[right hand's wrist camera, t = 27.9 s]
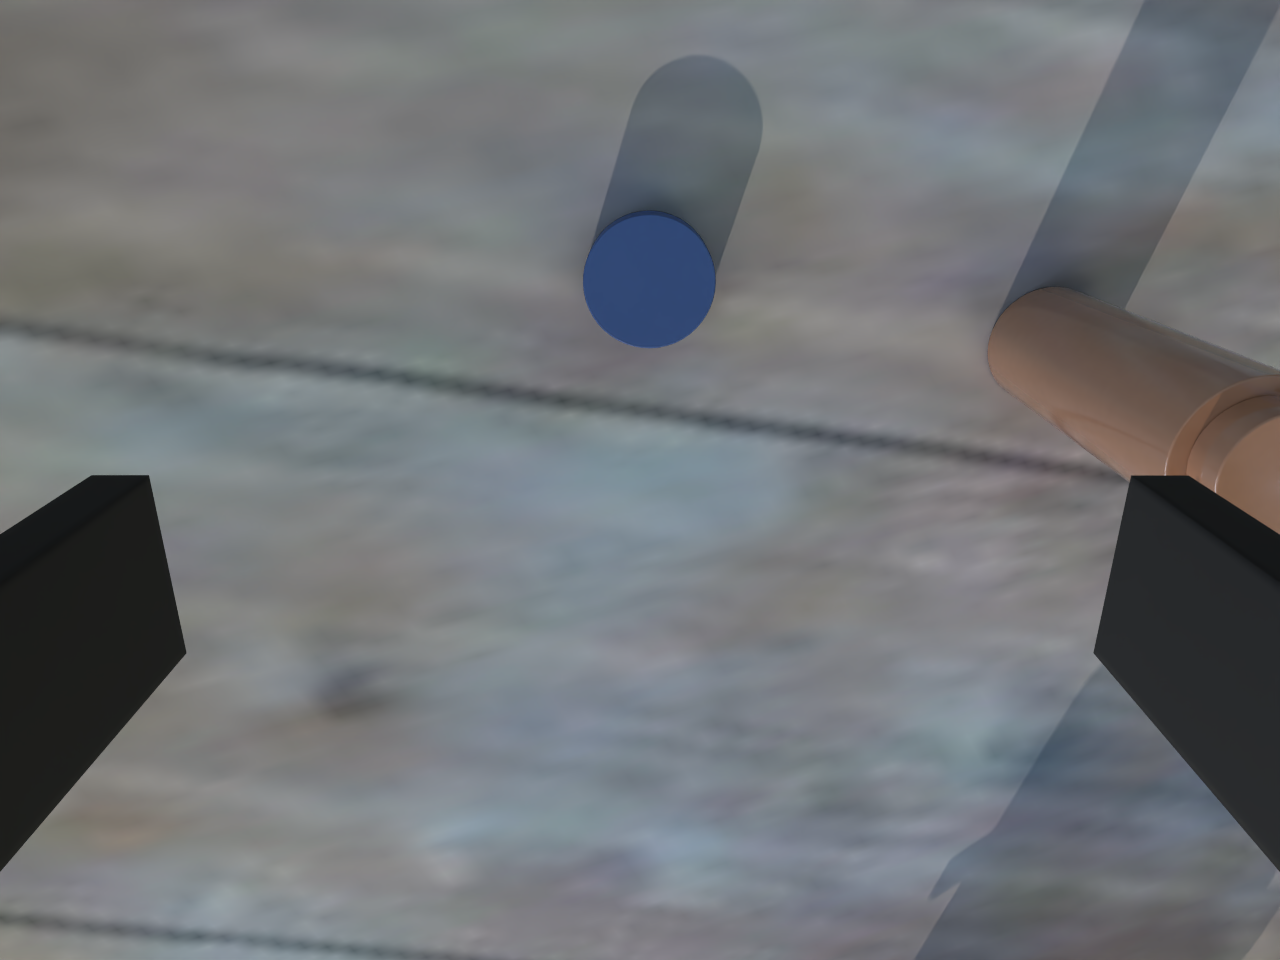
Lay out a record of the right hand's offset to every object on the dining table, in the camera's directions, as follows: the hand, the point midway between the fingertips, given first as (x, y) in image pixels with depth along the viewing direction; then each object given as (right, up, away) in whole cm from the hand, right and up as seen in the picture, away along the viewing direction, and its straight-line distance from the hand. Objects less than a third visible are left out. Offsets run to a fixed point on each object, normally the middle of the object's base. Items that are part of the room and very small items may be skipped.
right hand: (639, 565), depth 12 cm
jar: (+17, +7, +25) cm, 31 cm away
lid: (0, +9, +23) cm, 25 cm away
